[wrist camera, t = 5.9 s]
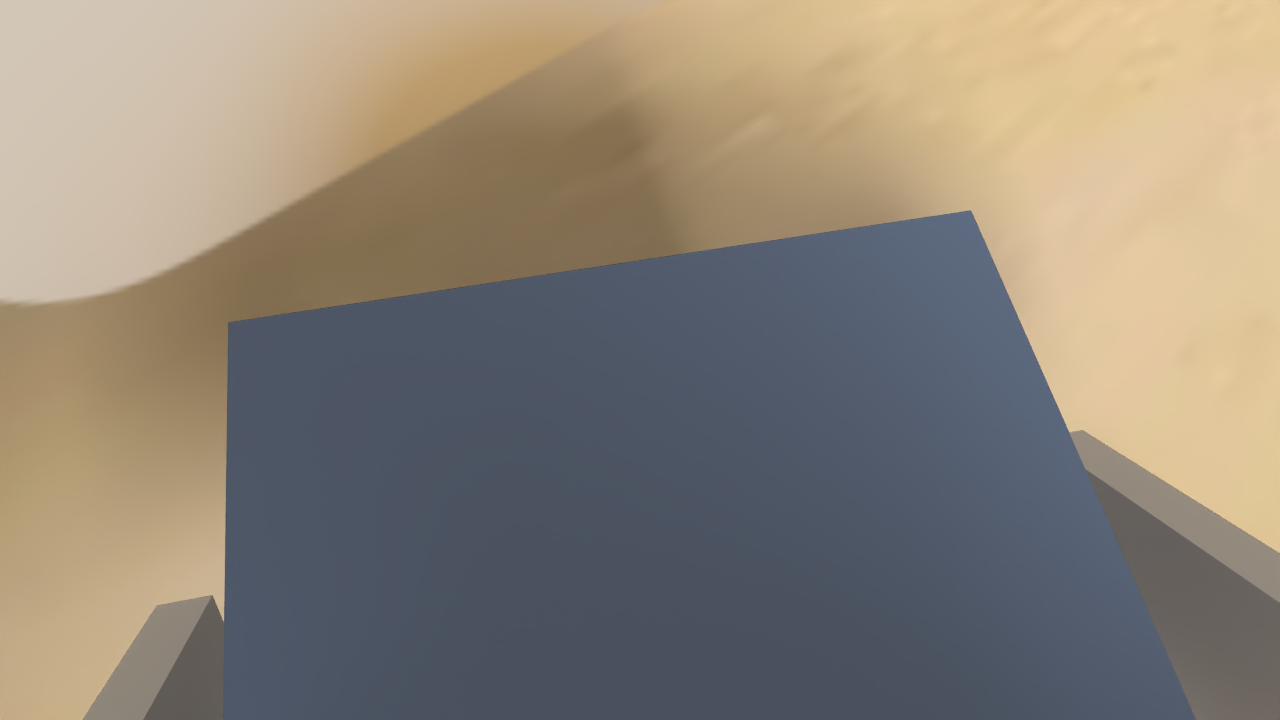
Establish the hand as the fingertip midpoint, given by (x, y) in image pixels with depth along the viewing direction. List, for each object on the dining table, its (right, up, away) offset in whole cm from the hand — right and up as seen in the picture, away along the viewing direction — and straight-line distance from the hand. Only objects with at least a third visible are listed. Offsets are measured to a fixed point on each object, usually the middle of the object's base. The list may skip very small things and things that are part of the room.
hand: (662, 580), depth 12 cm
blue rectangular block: (0, -3, +4) cm, 5 cm away
